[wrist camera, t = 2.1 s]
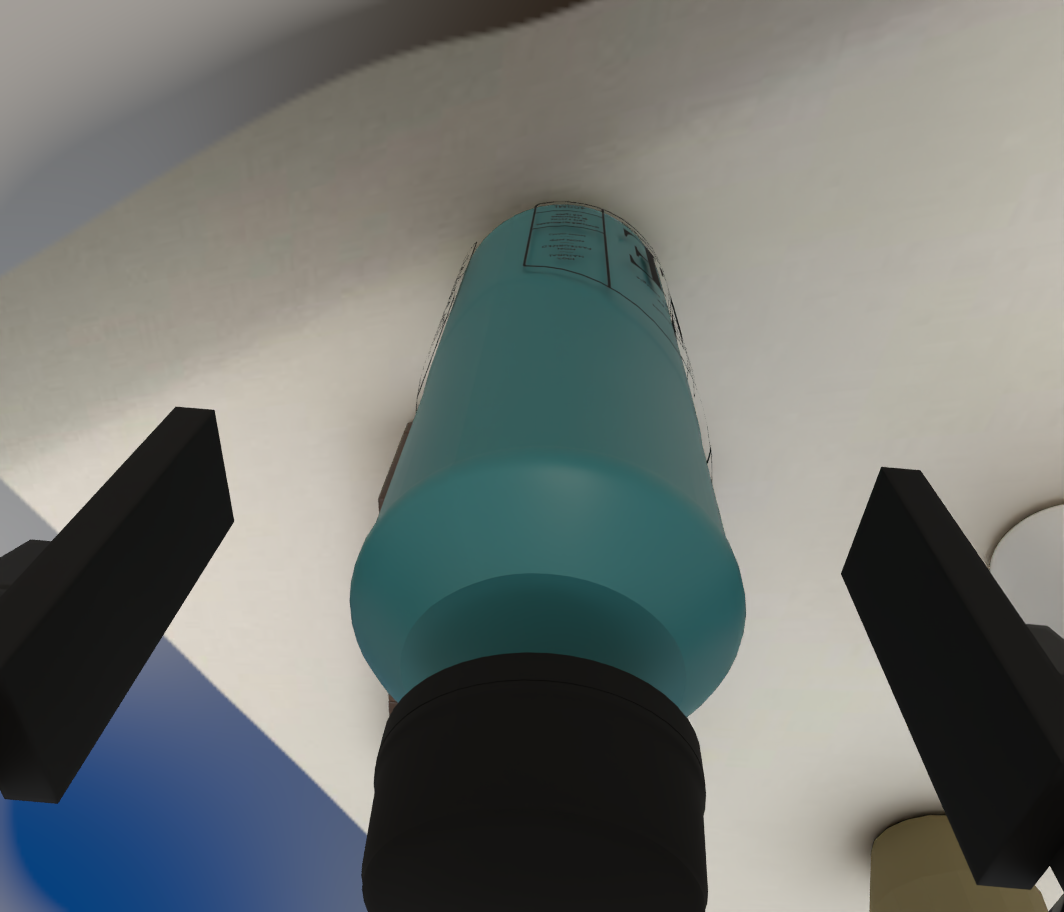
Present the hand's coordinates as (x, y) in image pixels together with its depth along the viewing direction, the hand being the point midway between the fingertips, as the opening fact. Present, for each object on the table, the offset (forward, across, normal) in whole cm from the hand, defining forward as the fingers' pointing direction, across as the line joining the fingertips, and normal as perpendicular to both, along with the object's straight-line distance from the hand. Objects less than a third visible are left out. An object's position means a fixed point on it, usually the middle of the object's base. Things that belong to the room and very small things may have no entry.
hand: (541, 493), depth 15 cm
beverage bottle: (+12, 0, 0) cm, 12 cm away
